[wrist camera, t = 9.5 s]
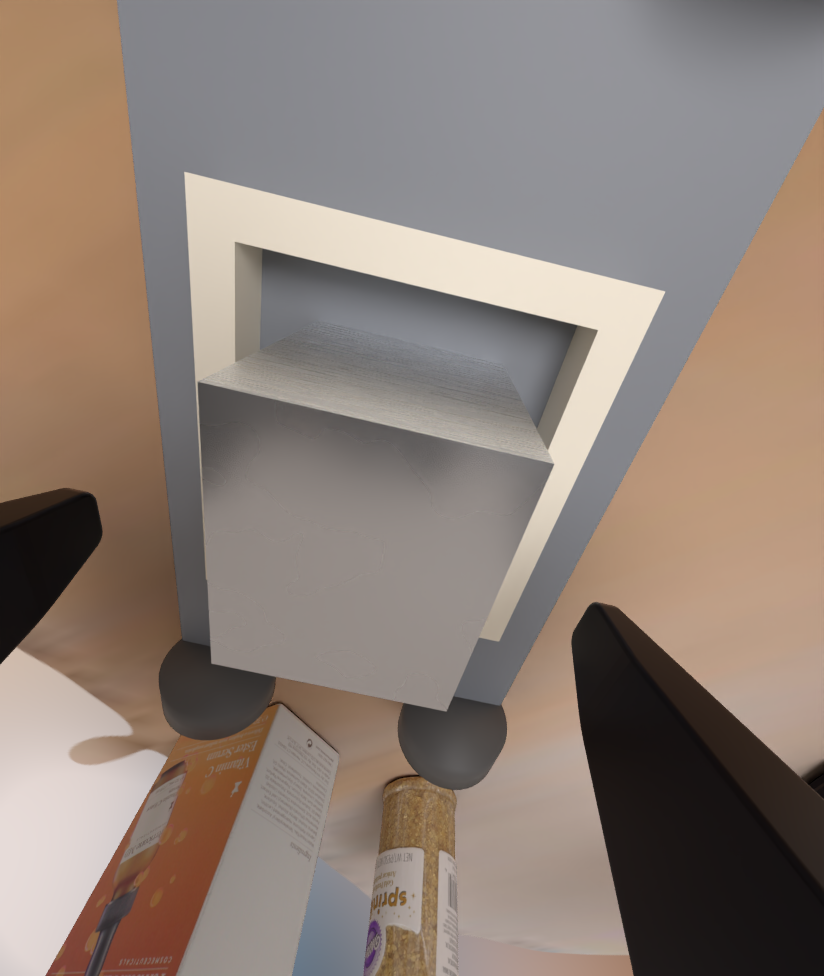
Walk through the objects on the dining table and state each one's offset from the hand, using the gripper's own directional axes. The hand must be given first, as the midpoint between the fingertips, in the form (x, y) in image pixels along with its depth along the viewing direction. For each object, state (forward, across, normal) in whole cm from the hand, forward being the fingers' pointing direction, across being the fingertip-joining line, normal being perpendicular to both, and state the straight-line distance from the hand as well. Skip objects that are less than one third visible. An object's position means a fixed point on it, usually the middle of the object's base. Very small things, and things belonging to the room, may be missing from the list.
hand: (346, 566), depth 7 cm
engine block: (+6, 0, 0) cm, 6 cm away
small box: (+7, +4, +21) cm, 23 cm away
